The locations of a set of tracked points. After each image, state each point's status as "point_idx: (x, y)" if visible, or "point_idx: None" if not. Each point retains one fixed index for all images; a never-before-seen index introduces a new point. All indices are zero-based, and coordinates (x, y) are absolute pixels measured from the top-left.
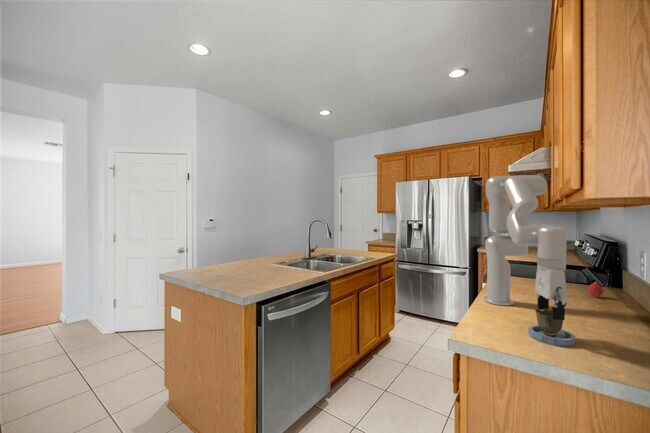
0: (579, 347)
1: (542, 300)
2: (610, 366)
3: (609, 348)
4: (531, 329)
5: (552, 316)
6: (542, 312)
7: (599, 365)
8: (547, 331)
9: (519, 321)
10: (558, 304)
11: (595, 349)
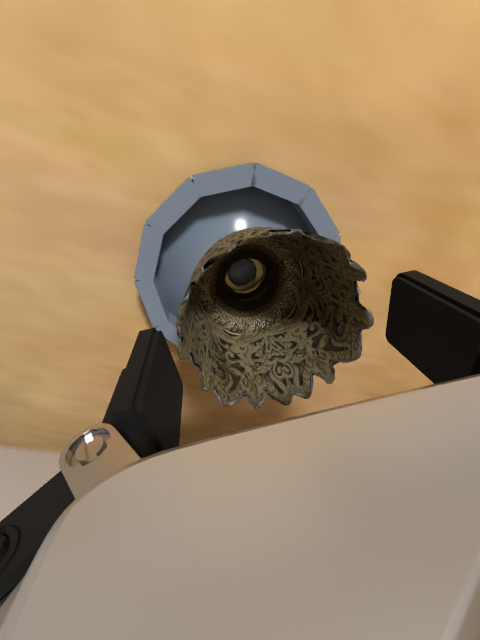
0: None
1: (454, 345)
2: (41, 398)
3: (226, 421)
4: (242, 179)
5: (143, 338)
6: (347, 289)
7: (19, 374)
8: (215, 264)
9: (460, 160)
10: (38, 506)
11: (192, 390)
